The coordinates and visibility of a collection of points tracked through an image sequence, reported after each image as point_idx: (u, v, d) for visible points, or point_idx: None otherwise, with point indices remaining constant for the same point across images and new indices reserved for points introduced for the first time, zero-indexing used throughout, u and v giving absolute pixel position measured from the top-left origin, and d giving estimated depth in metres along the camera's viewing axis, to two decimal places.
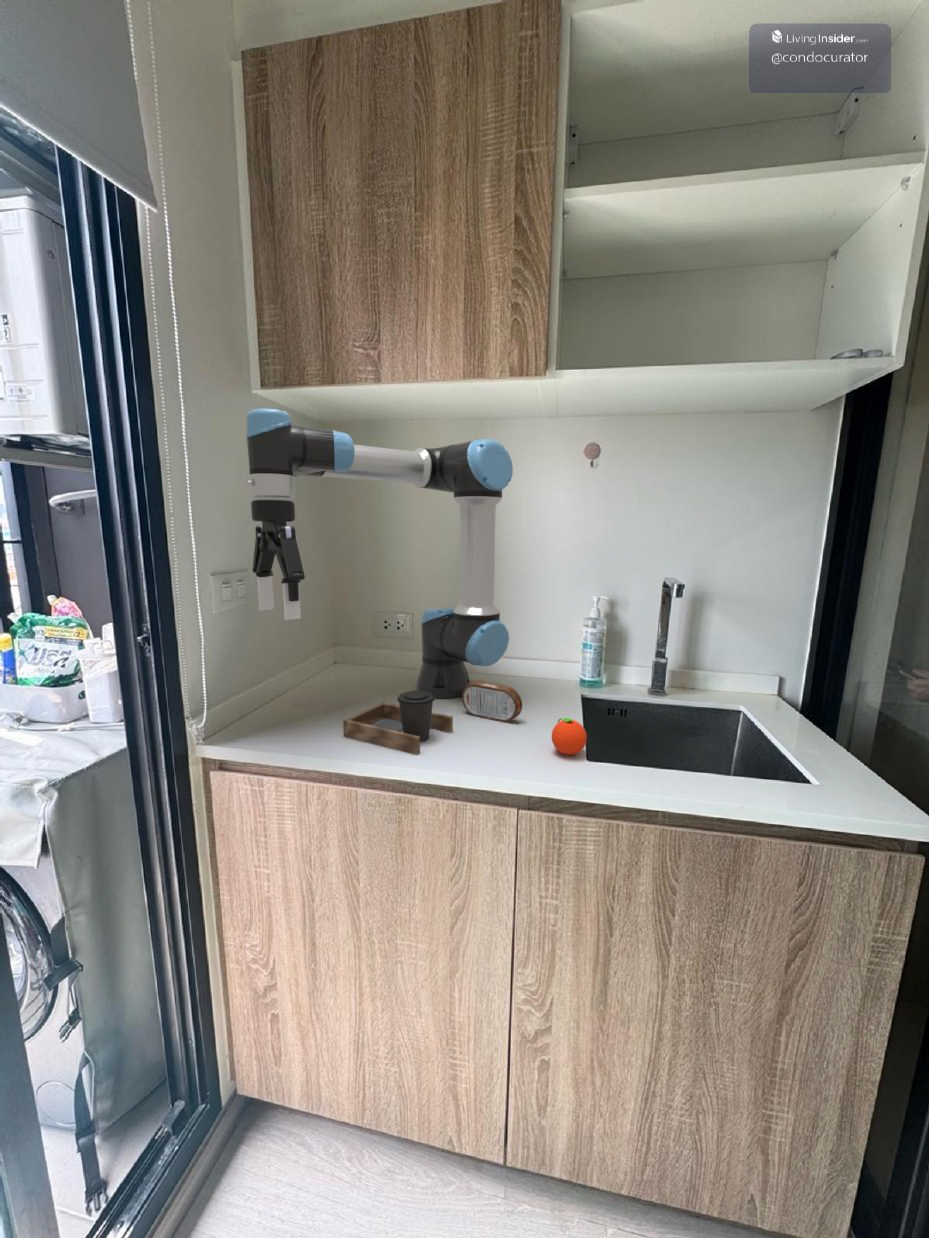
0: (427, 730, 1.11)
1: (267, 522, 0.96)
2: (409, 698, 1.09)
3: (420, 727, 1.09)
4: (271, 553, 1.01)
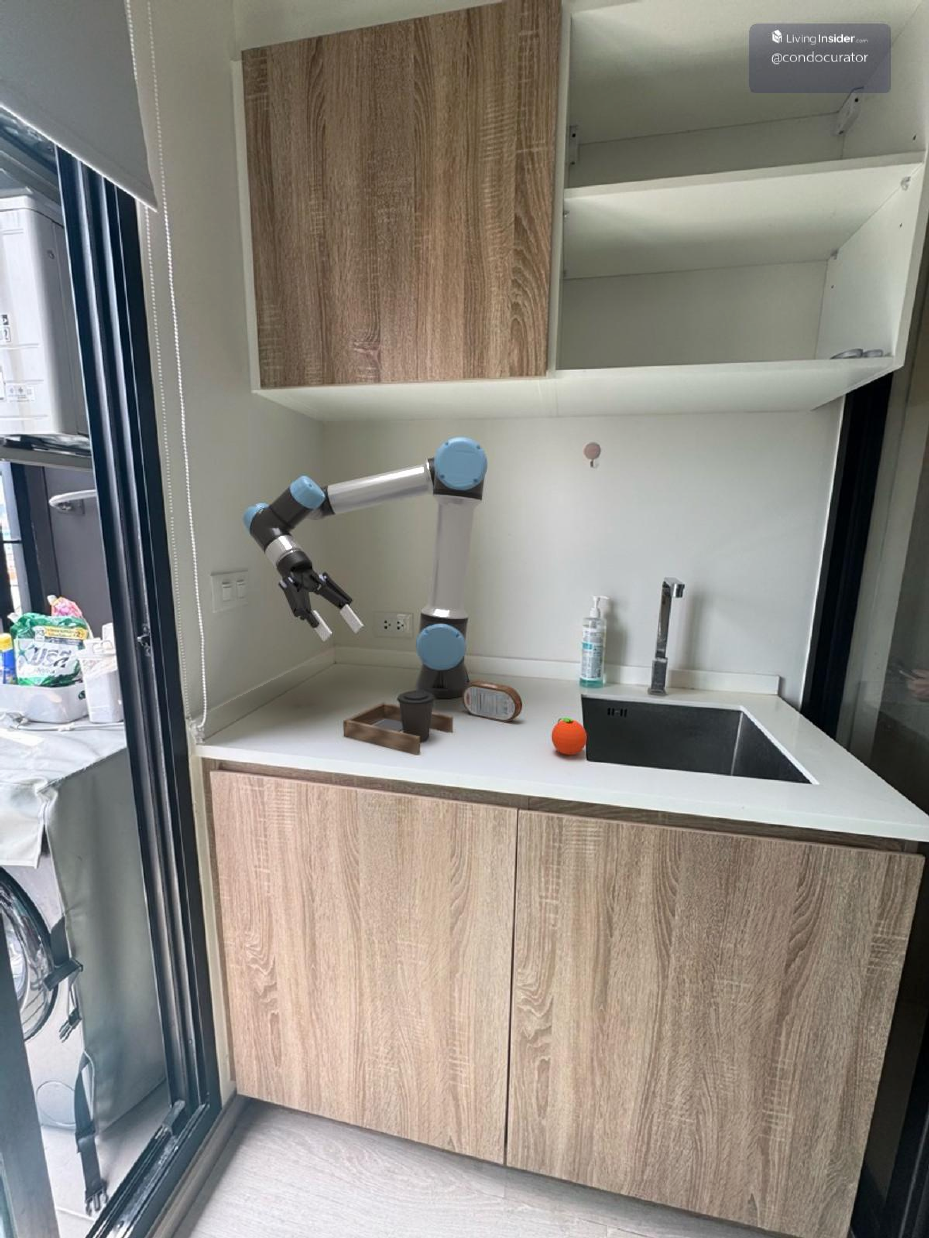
0: (427, 730, 1.11)
1: None
2: (409, 698, 1.09)
3: (420, 727, 1.09)
4: (324, 590, 1.23)
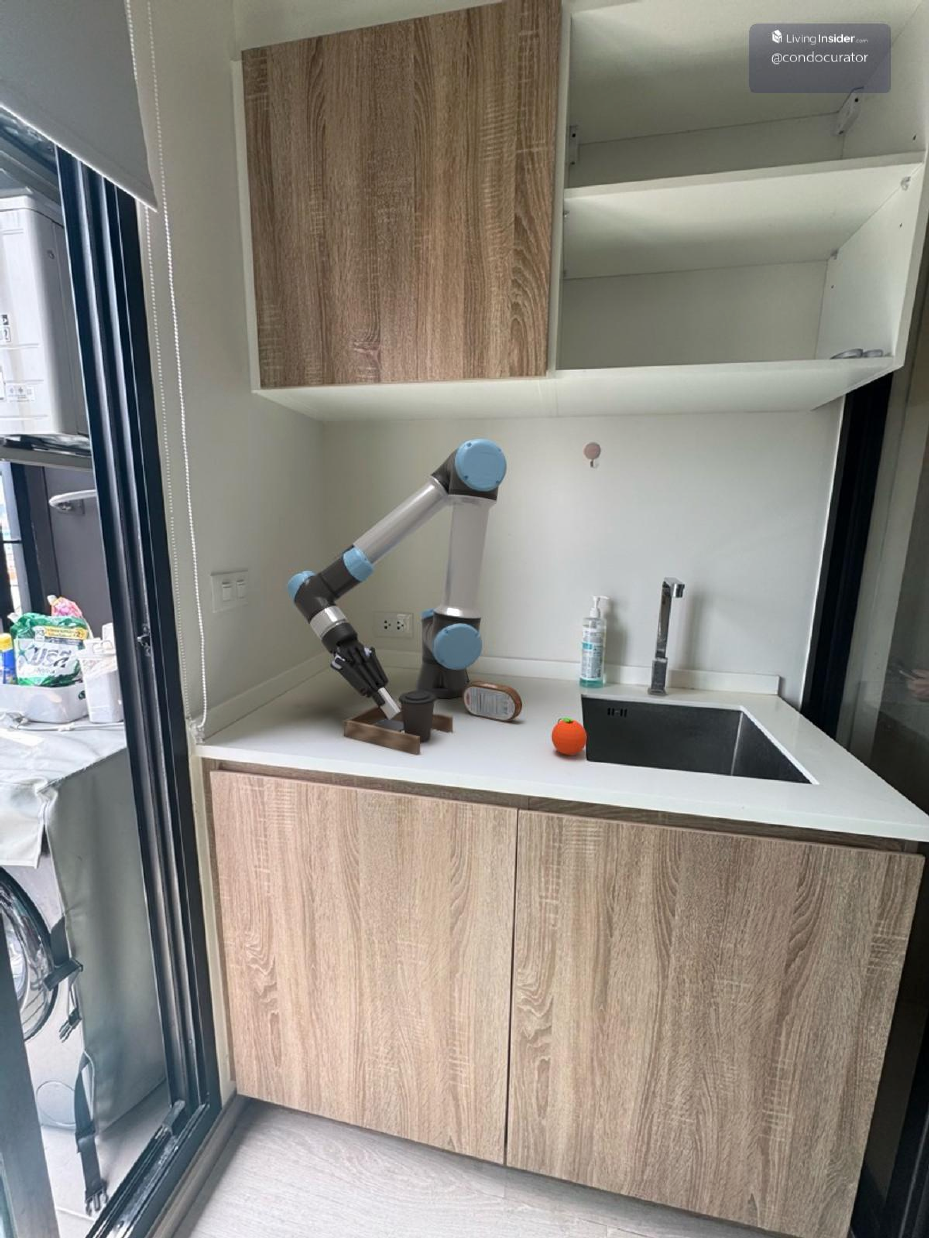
0: (428, 730, 1.10)
1: None
2: (411, 698, 1.08)
3: (422, 728, 1.09)
4: (364, 666, 1.16)
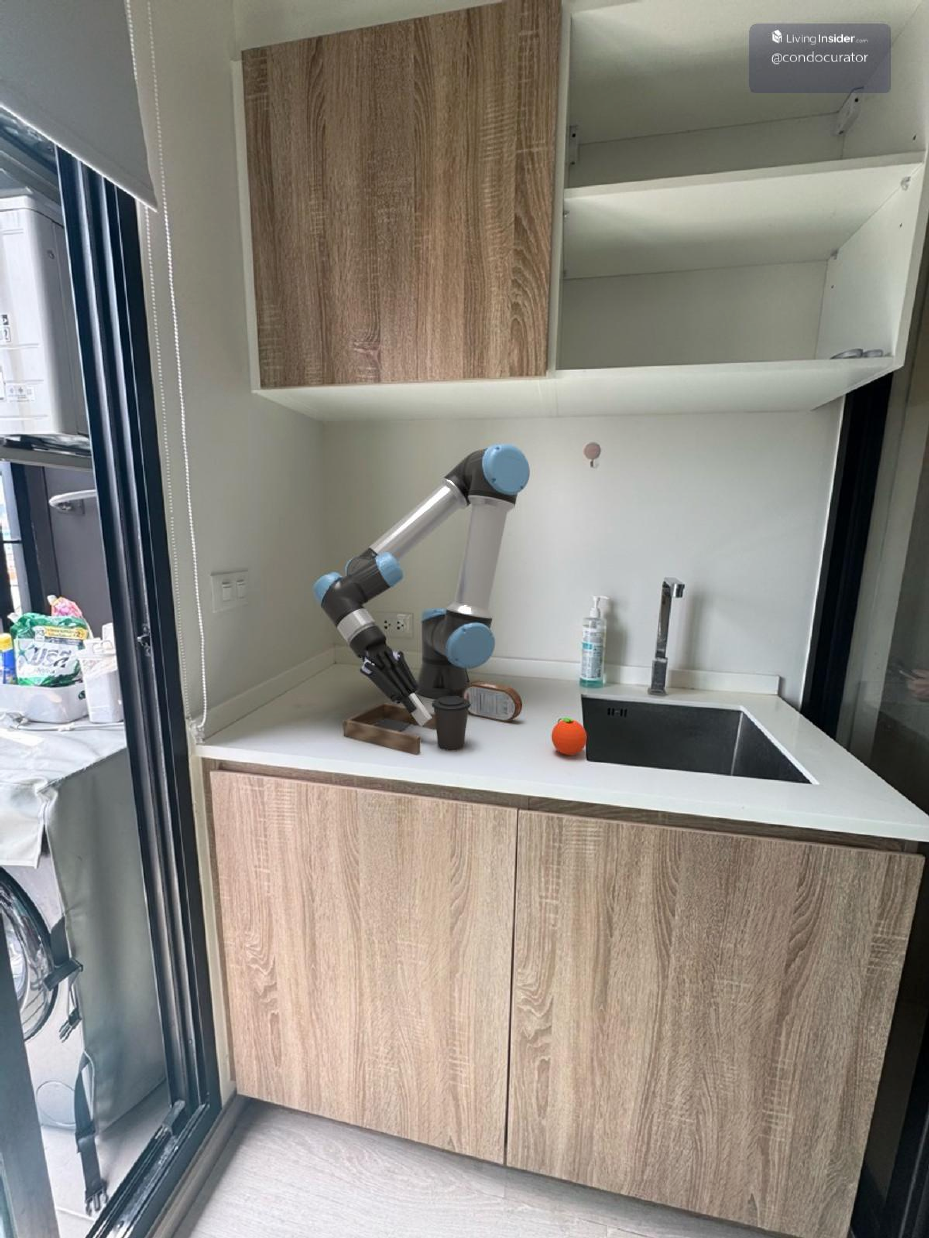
0: (464, 736, 1.07)
1: None
2: (447, 704, 1.05)
3: (459, 734, 1.06)
4: (393, 670, 1.13)
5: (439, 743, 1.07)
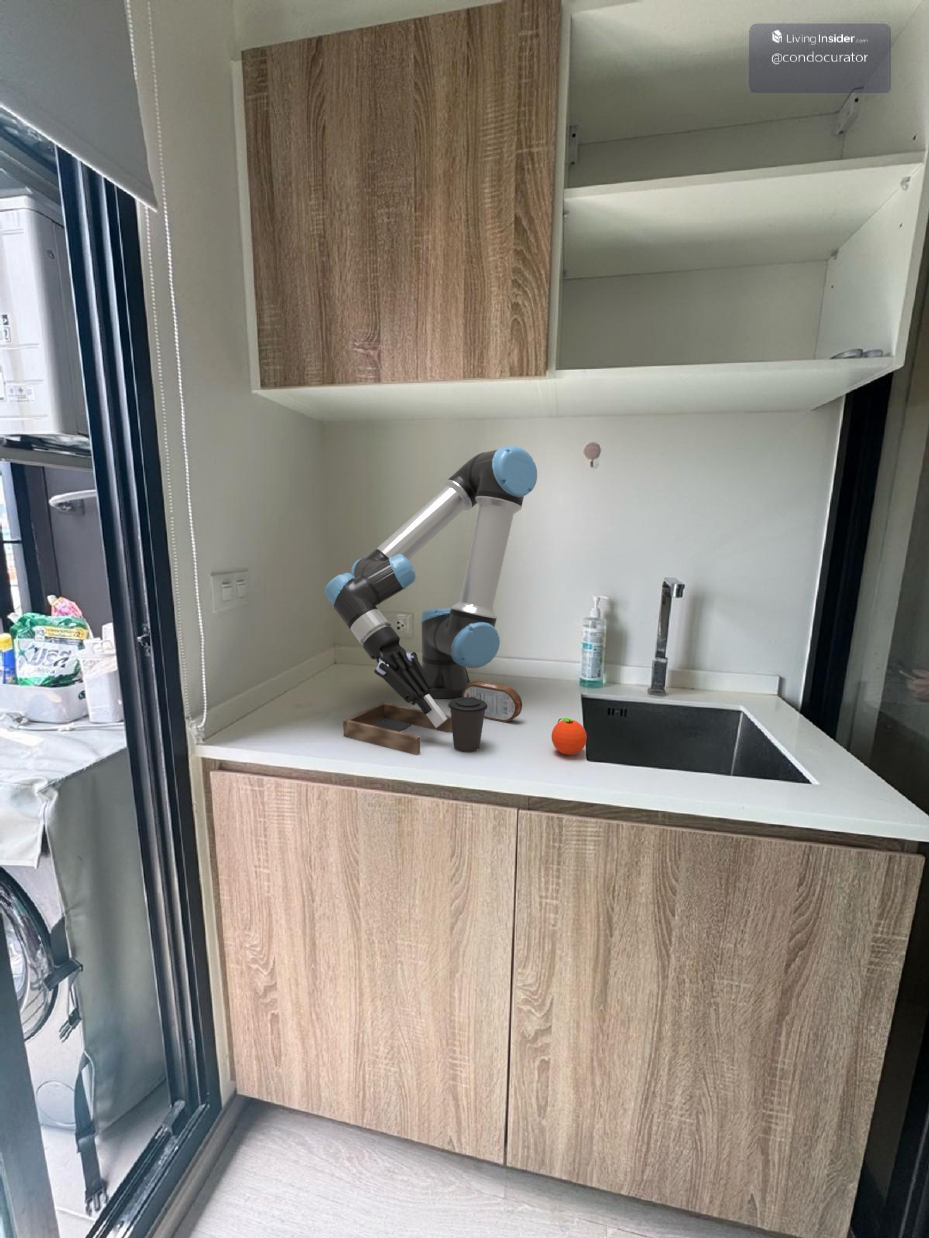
0: (480, 737, 1.07)
1: None
2: (465, 705, 1.04)
3: (476, 735, 1.05)
4: (407, 671, 1.11)
5: (456, 745, 1.06)
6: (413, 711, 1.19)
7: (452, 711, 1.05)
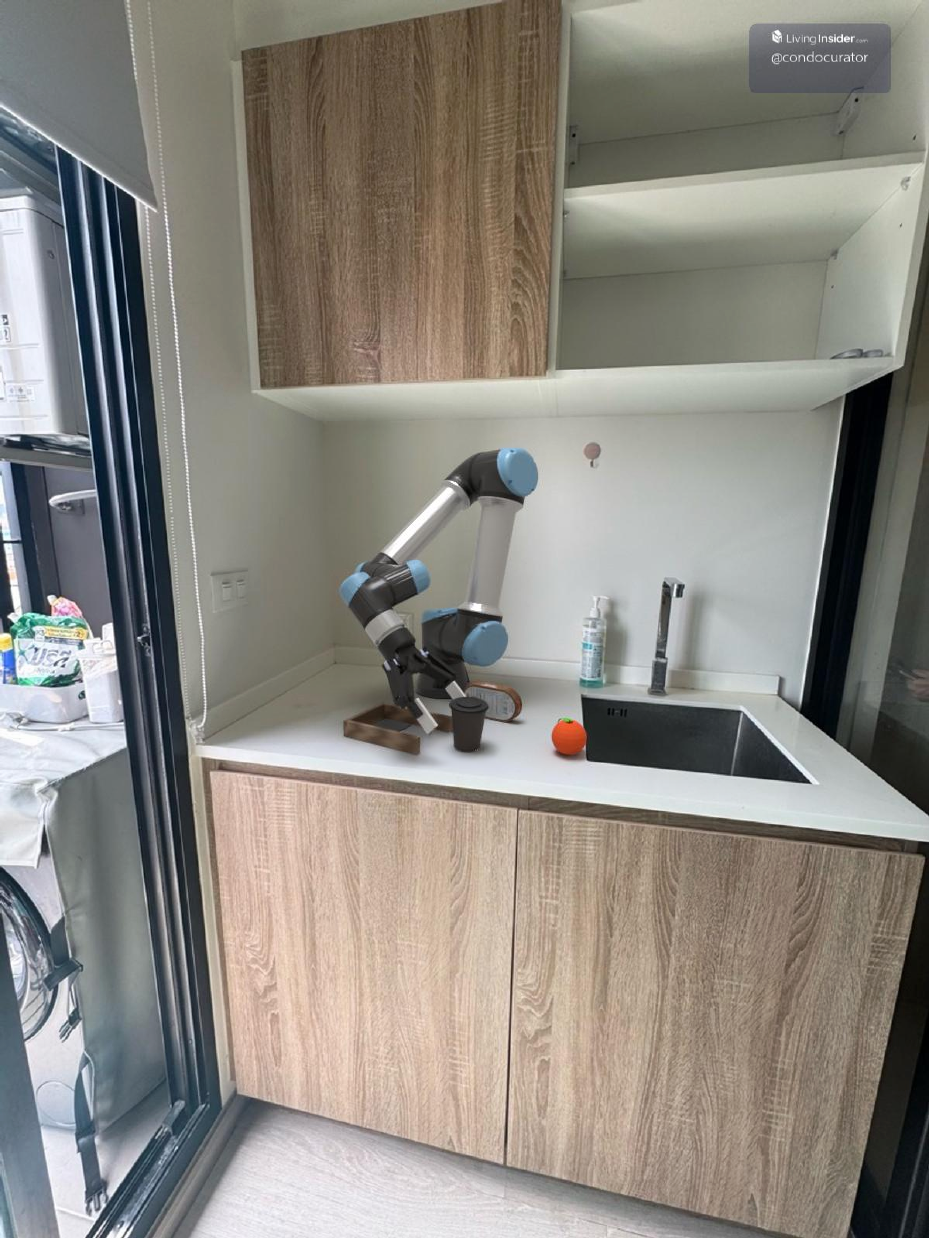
0: None
1: None
2: (466, 707, 1.03)
3: (477, 736, 1.05)
4: (429, 669, 1.11)
5: (456, 744, 1.06)
6: None
7: (453, 711, 1.05)
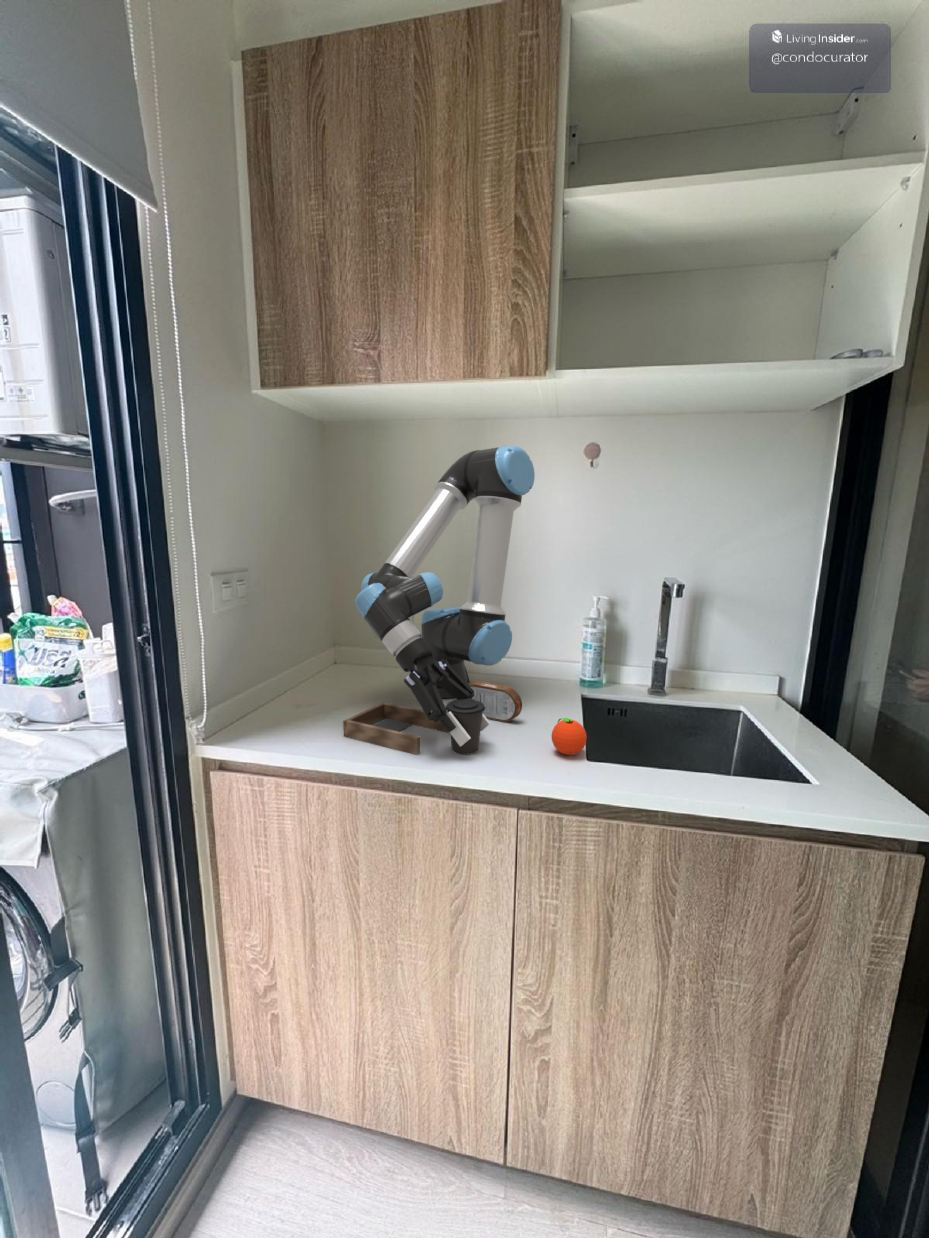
0: (478, 740, 1.06)
1: None
2: (461, 708, 1.03)
3: (473, 737, 1.04)
4: (446, 682, 1.10)
5: (453, 747, 1.05)
6: (413, 711, 1.19)
7: None
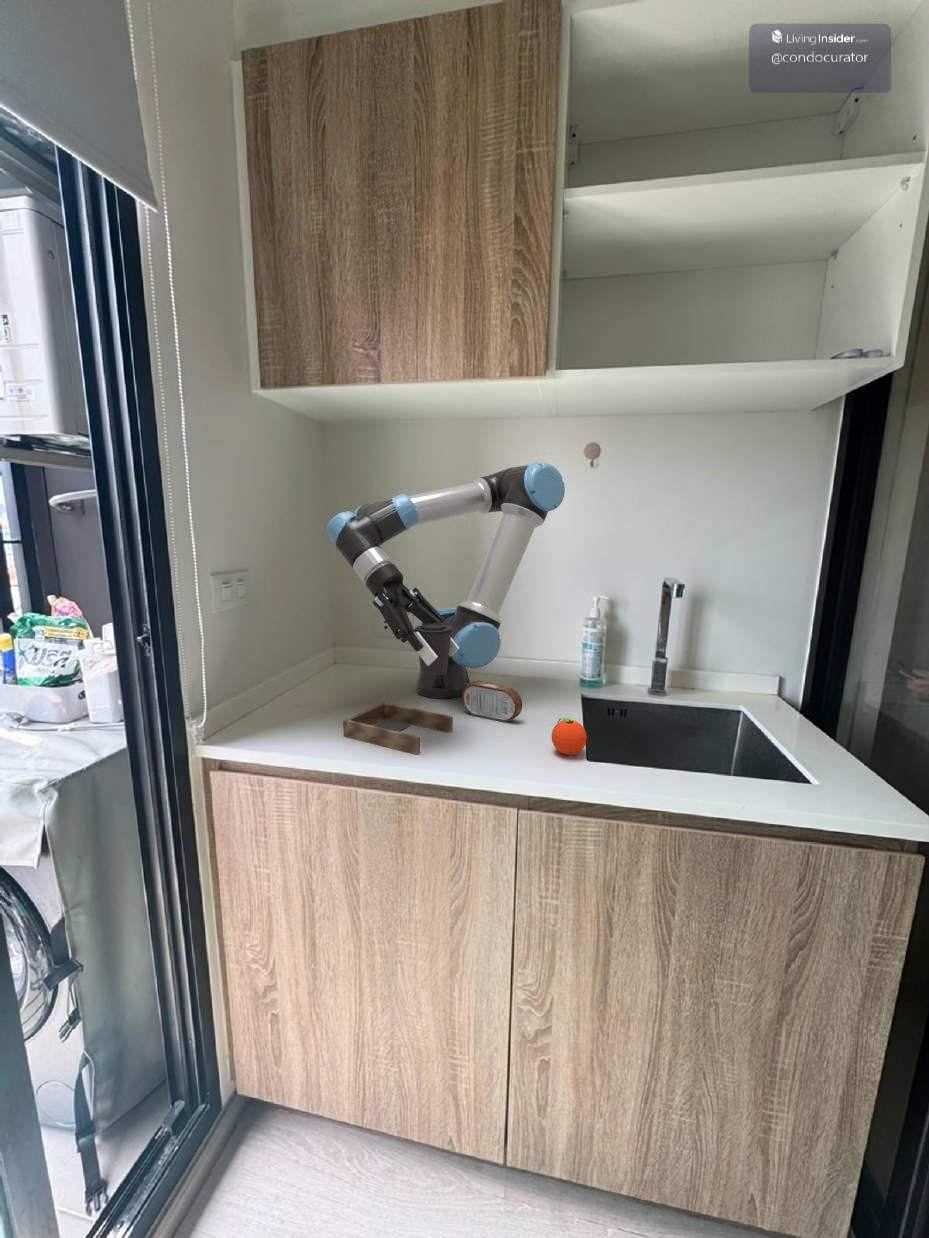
0: (446, 662, 1.07)
1: None
2: (429, 629, 1.04)
3: (441, 659, 1.05)
4: (415, 608, 1.11)
5: (422, 669, 1.07)
6: (413, 711, 1.19)
7: None
